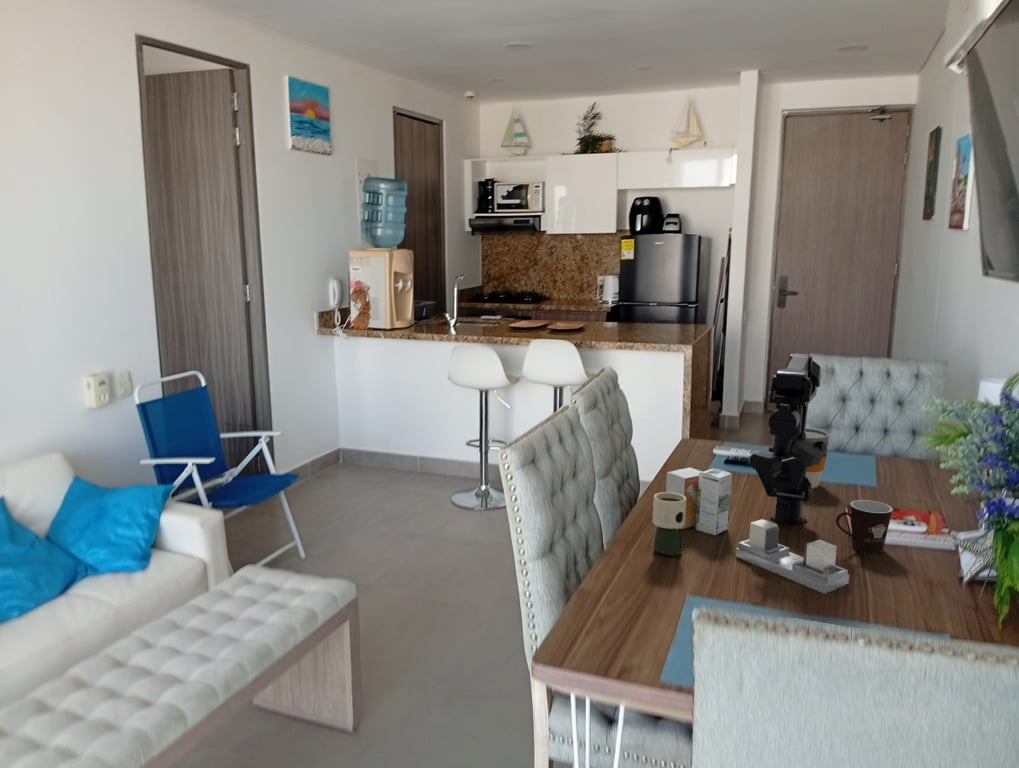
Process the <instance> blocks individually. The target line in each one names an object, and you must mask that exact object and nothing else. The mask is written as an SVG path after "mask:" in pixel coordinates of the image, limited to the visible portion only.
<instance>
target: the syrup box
mask: <svg viewBox="0 0 1019 768" xmlns="http://www.w3.org/2000/svg"><path fill="white" fill-rule="evenodd" d="M732 481H733V474H732V473H731V472H728V471H726V470H722V469H719V468H710V469H707V470H705V471H702V473H699V484H698V499H697V514H696V526H695V527H694V528H695V530H696V531H699V532H702V533H705V534H706V533H707V534H710V535H713V536H717V535H719V534H722V533H724V532H725V531H728V530H729V523H730V522H729V521H730V509H731V498H732V497H731V496H732V483H733V482H732Z"/></svg>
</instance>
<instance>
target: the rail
mask: <svg viewBox="0 0 1019 768" xmlns="http://www.w3.org/2000/svg"><path fill="white" fill-rule="evenodd" d="M837 547H838V546H837V545H835V544H832V543H829V542H826V541H824V540H822V539H817V540H813V541H809V542H807V543H804V552H803V554H804V555H803V556H801V555H798V554H795V553H793V552H791V551H790V547H788V546H786V545H783V544H780V543H778V547H776V551H773V552H770V553H767V552H765V551H762V550H760V549H757V548H755V547H752V546H750V545H749V538H748V539H746V540H743V541H740V542H738V547H736V552H735V557H736V558H738V557H739V559H740V558H741V559H740V560H743V561H745V562H747V561H748V563H749V564H751V565H755V566H756V567H760V568H762V569H765V570H766V569H767V571H769V572H771V573H774V574H776V573H777V574H776V575H778V574H779V576H780V577H781V576H782V577H783V576H784V577H783V578H785V577H786V579H789V580H791V581H793V582H795V583H796V584H797V583H798V584H800V585H802V586H804V585H805V587H806V588H809V589H812V590H814V591H816V590H817V592H819V593H822V594H824V595H826V594H828V593H830V592H833V591H835V590H838V589H840V588H842V587H841V586H843V587H845V586H847V585H846V584H848V585H849V583H850V574H849V573H848V572H849V571H848V569H847V568H843V567H841V566H838V565H836V559H837ZM844 585H845V586H844ZM839 587H840V588H839ZM837 588H838V589H837ZM827 592H828V593H827Z"/></svg>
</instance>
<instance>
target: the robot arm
mask: <svg viewBox="0 0 1019 768" xmlns="http://www.w3.org/2000/svg"><path fill="white" fill-rule="evenodd" d="M813 358H814V357H813V355H811V354H807V353H806V354H805V353H791V354H790V357H789V360H788V361H787V362H786V363H785V364H784V368H779V369H778V370H777V371H776V374H774V375H773V376H772V380H771V387H770V392H769V399H768V403H769V404H775V409H774V411H773V412H772V413H771V415H770V417H769V419H768V427H769V435H772V436H773V442H772V446H768V452H766V451H759V452H754V453H752V454H751V455H750V456H749V457H748V466H750V467H752V469H754V470H755V472H756V473H757V475H758V477H759V480H760V481H761V484H762V486H763V488H764V491H765V493H766V495H767V497H770V498H776V503H775V510H774V512H775V513H774V515H771V516H770V517H769V519H770V520H773V521H776V522H779V523H781V524H783V525H787V526H790V527H793V526H796V525H799V524H800V525H801V524H802V523H806V522H808V519H807V518H804V517H803V507H804V502H805V503H806V502H808V501H811V500H812V489H813V488H812V486H811V483H810V480H809V477H807V469H808V468H809V467H811V466H813V465H819V464H820V461H821V459H822V458H823V457H826V456H827V457H828V454H827V452H828V451H827V450H828V449H827V447H828V446H827V443H825V442H824V441H822V440H821V441H817V442H815V443H814V442H809V441H807V440H806V434H805V429H806V428H807V427H806V426H807V422H808V421H807V420H808V410H809V409H808V408H809V404H810V403H811V402H812V400H813V399H815V397H816V395H817V392H818V391H817V390H818V388H820V386H821V379H822V370H821V365H820V364H818V363H817V362H815V361H814V359H813ZM813 443H814V444H813ZM772 453H773V454H772ZM827 457H826V458H827Z"/></svg>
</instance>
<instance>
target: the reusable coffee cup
mask: <svg viewBox="0 0 1019 768" xmlns="http://www.w3.org/2000/svg"><path fill="white" fill-rule="evenodd" d="M805 434H806V440H807V441H809V442H814V443H815V442H817V441H821V440H822V441H824V442H825V443H827V447H828V446H829V445H830V444H829V442H830V439H829V434H828V433H827V432H826V431H822V430H819V429H814V428H813V429H812V428H807V427H806V429H805ZM814 443H813V444H814ZM827 457H828V455H827V456H826V457H823V458H822V459H821V461H820V464H819V465H813V466H811V467H809V468H808V469H807V477H809V480H810V483H811V486H812V489H814V488H813V487H816V488H818V487H819V486H820V481H821V477H822V471H824V470H825V465H826V462H827V461H826V460H827ZM818 485H819V486H818ZM817 486H818V487H817Z"/></svg>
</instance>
